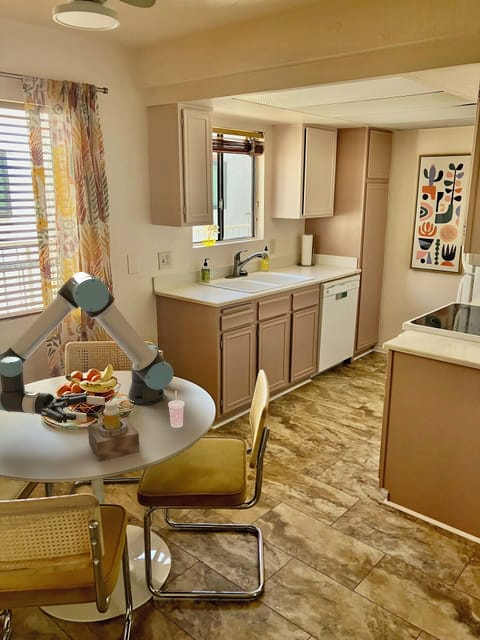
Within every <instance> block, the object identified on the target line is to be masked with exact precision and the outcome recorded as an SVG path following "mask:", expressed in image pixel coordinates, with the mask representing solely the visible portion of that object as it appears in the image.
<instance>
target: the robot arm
mask: <svg viewBox="0 0 480 640" xmlns="http://www.w3.org/2000/svg"><path fill="white" fill-rule="evenodd" d="M115 301H116V299H115V297H114V296H113V295H112V293H111V292H110V291H109V289H108V286H107V285H106V284H105V283H104V282H103V281H102V279H99V278H98V277H96V276H94V275H93V274H92V273H89V272H86V271H81V272H77V273H75V274H73V275H72V276H71V277H69V278H68V280H67V281H66V282H65V283H64V284H63V285H62V286H61V287H60V288H59V289H58V290H57V292H56V296H55V298H54V299H52V301H51V302H50V304H48V306H46V308H44V310H43V311H42V312H41V313H40V314H39V315H38V316H37V317H36V318H35V319H34V321H32V323H31V324H30V325H29V326H28V327H27V328H26V329H25V331H23V333H22V334H20V336H19V337H18V338H17V339H16V340H15V341H14V342H13V343H12V344H11V346H10V347H9V348H8V349H7V350H5V351H2V352H1V353H0V385H1V389H0V411H3V412H8V413H13V412H14V413H21V414H22V413H23V414H31V415H39V416H40V415H41V417H44V418H45V417H46V418H48V419H50V420H52V421H55V422H56V423H59V424H62V423H64V424H66V423H68V421H75V422H84V423H85V422H87V421H88V419H87V413H84V412H76V411H75V412H74V411H67V412H66V411H64V409H65V408H70V406H74V405H81V404H85V403H86V404H90V405H99V406H105V403H106V401H105V396H97V395H96V396H95V395H90V393H89V392H80V393H69V394H67V393H66V394H64V393H63V394H60V397H54V395H53V394H51V393H48V392H47V393H46V392H37V391H36V392H35V391H26V390H25V389H26V387H25V380H24V378H25V377H24V365H23V364H24V363H25V362H26V361H27V360H28V358H30V356H31V355H32V354H33V353H34V352H35V351H36V350H37V349H38V348H39V347H40V345H42V344H43V343H44V341H46V339H47V338H48V337H49V336H50V335H51V334H53V333H52V332H54V330H56V328H58V326H59V325H60V324H61V323H62V322H63V321H64V319H65V318H66V317H68V315H69V314H70V313H71V312H72V311H73V310H74V311H75V310H78V308H80V309H81V310H82V311H83V312H84V314H85V315H86V316H87V317H88V318H89V319H93V320H94V319H95V320H96V321H97V323H98V324H99V325H100V326H101V327H102V328H103V329H104V331H106V333H107V334H108V335H109V336H110V338H112V340H113V341H114V342H115V343H116V344H117V345H118V347H119V348H120V349H121V350H122V351H123V352H124V354H125V355H126V356H127V357H128V358H129V360H130V367H131V369H130V370H131V371H130V372H131V383H130V388H129V391H128V397H127V398H128V400H129V399H130V400H132V401H134V403H135V405H140V406H141V405H144V406H145V405H146V406H147V405H153V404H156V403H159V402H162V401H163V400H164V398H165V391H164V388H165V389H166V387H168V386H169V385H170V384H171V382H172V381H173V378H174V369H173V367H172V365H171V364H170V363H168V362H167V361H166V360H165V358H164V356H163V357H162V356H161V355H160V354H159V350H160V349H159V347H158V346H157V345H153V344H152V345H150V344H147V343H146V341H145V340H144V339H143V338H142V336H141V335H140V334H139V333H138V332H137V330H136V329H135V328H134V327H133V325H132V324H131V323H130V322H129V320H128V319H127V318H126V317H125V315H124V314H122V312H121V311H120V310H119V308H118V307H117V306H116V305H115ZM134 403H133V404H134Z"/></svg>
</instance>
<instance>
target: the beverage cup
mask: <svg viewBox="0 0 480 640" xmlns="http://www.w3.org/2000/svg"><path fill="white" fill-rule="evenodd" d="M177 396H178V392H177V390H175V400H171V401H169V402H168V403H167V406H168V409H169V410H168V412H169V419H170V420H169V421H170V426H171V428H182V427H183V425H184V411H185V410H184V407H185V402H184V401H183V400H179V399H178V397H177Z"/></svg>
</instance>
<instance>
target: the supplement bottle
mask: <svg viewBox="0 0 480 640" xmlns="http://www.w3.org/2000/svg"><path fill="white" fill-rule="evenodd" d="M120 419H121V413H120V408H119V407H118V402H117V401H115V400H109V401H105V405H104V410H103V422H104V428H105V430H115V429H120Z"/></svg>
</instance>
